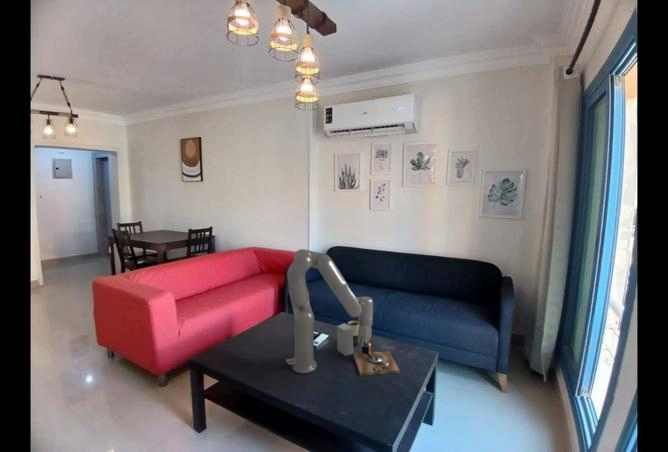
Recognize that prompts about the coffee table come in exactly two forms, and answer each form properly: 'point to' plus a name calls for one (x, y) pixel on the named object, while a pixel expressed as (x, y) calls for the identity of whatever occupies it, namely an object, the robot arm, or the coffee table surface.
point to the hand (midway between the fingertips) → (365, 352)
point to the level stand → (373, 369)
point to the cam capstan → (375, 357)
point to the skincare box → (345, 339)
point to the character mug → (354, 331)
